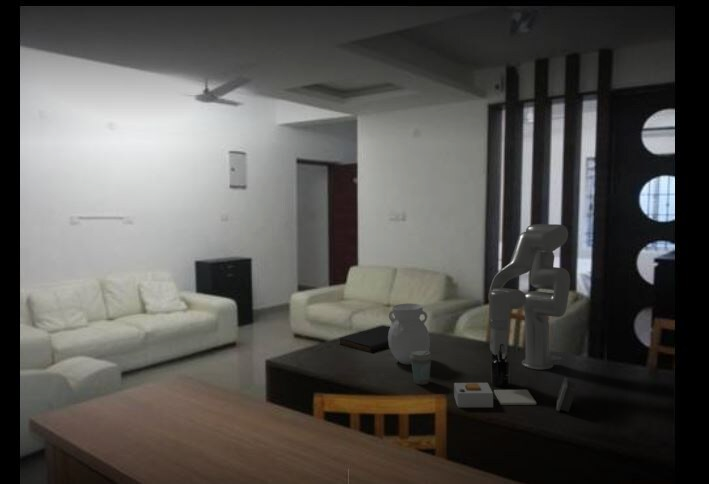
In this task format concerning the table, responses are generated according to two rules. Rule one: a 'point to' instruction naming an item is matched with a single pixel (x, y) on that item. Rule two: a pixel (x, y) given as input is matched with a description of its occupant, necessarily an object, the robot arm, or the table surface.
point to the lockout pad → (514, 397)
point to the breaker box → (473, 396)
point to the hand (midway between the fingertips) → (499, 367)
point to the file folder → (368, 339)
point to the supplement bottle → (499, 374)
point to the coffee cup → (421, 366)
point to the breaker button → (472, 386)
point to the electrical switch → (565, 395)
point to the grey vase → (407, 331)
